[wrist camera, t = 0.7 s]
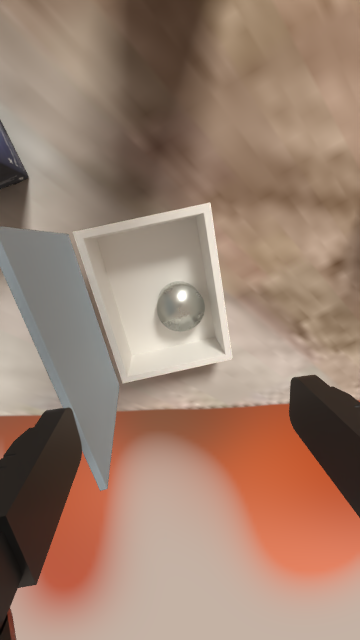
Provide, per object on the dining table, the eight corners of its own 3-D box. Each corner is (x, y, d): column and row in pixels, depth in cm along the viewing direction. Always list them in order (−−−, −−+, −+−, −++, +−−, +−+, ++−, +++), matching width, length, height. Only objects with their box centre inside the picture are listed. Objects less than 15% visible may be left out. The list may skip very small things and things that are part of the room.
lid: (-7, 225, 11) (-18, 227, 11) (107, 488, 17) (100, 490, 17) (68, 234, 23) (63, 235, 23) (119, 385, 29) (115, 386, 29)
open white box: (200, 209, 30) (210, 202, 24) (220, 339, 36) (232, 358, 30) (88, 232, 30) (72, 231, 24) (128, 360, 36) (122, 383, 30)
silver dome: (183, 271, 32) (186, 275, 29) (209, 306, 34) (213, 313, 31) (148, 299, 32) (147, 305, 30) (174, 331, 34) (176, 340, 32)
